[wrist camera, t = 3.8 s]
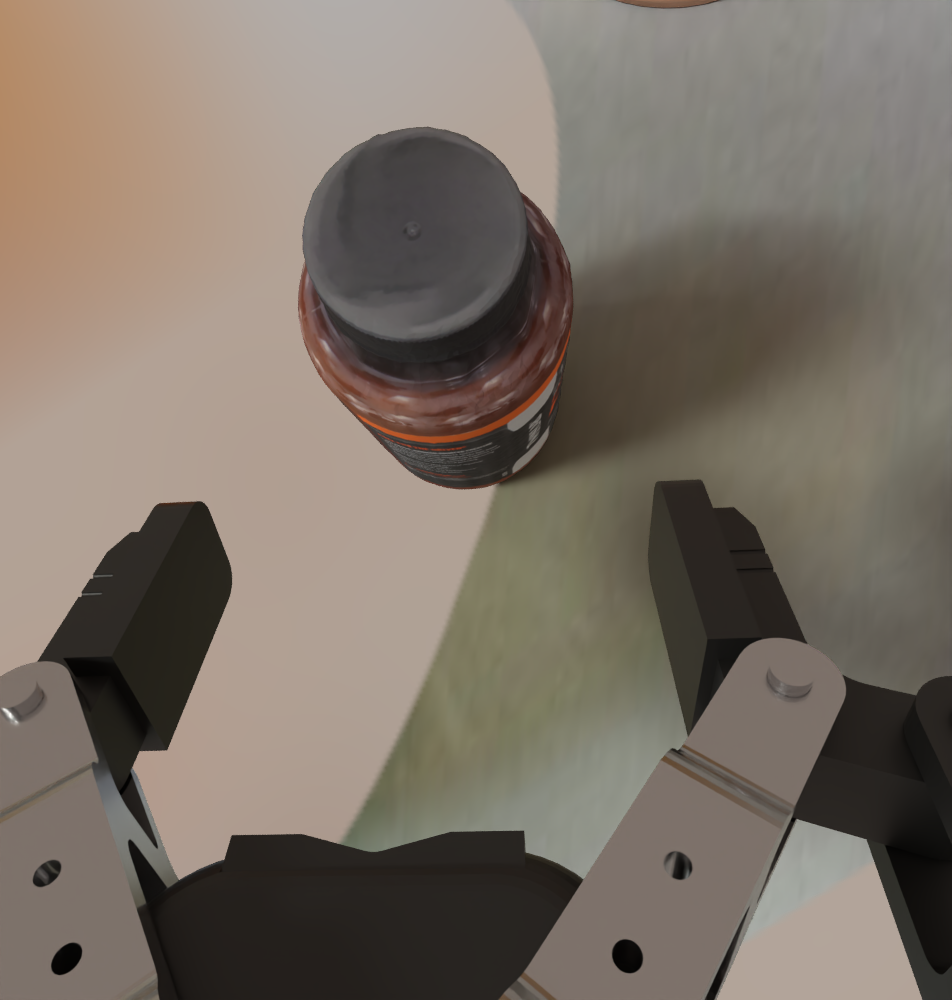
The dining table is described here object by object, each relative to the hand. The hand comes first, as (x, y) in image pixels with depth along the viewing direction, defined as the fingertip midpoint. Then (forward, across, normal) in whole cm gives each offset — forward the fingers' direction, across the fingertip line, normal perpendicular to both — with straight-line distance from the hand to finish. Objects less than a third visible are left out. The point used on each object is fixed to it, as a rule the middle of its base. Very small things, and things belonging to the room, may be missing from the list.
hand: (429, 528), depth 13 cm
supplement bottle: (+11, 0, +4) cm, 11 cm away
